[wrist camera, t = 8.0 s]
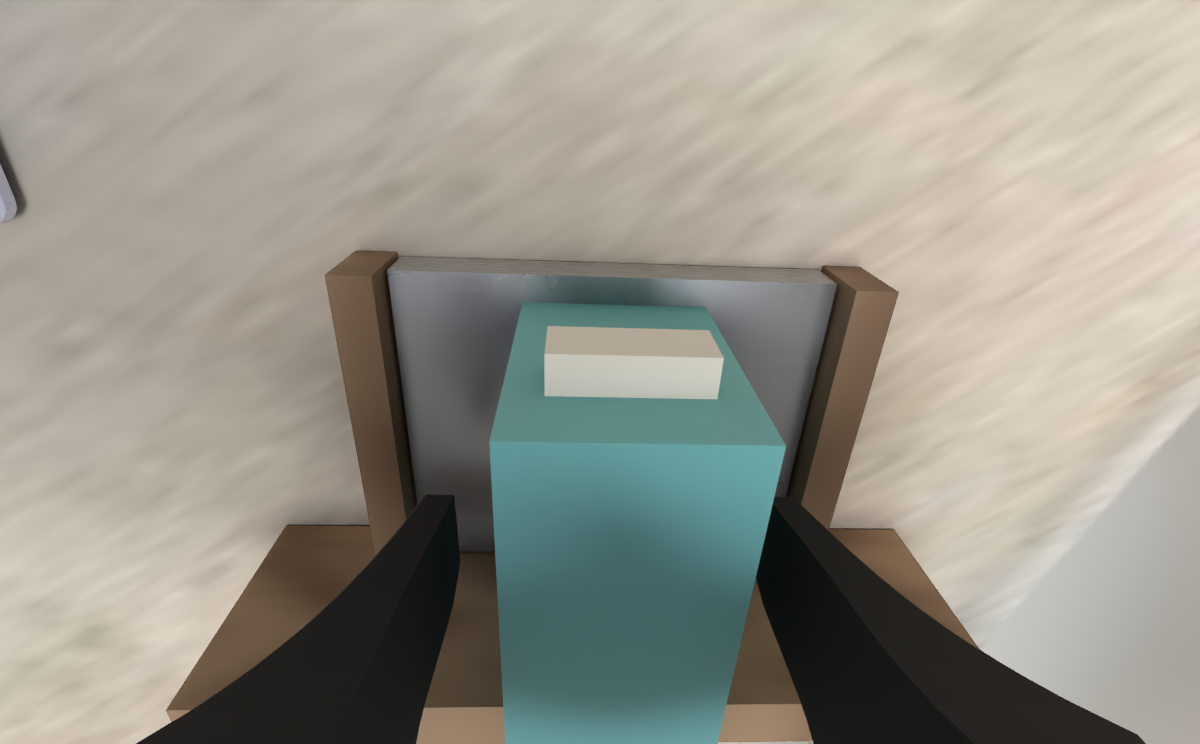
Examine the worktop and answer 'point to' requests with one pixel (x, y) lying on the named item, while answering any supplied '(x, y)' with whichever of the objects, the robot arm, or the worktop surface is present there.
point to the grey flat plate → (499, 287)
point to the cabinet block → (625, 523)
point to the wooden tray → (472, 642)
